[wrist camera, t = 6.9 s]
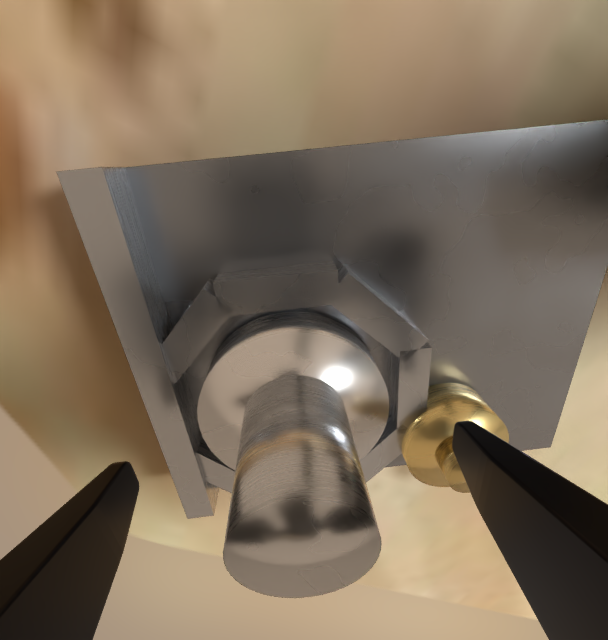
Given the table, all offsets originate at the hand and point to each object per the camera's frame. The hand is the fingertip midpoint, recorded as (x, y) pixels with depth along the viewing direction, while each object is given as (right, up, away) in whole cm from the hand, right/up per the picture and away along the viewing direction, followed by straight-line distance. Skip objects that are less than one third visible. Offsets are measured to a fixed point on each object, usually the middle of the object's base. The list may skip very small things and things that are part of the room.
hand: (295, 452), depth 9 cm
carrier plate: (+3, +3, +3) cm, 5 cm away
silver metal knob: (0, +1, +3) cm, 3 cm away
